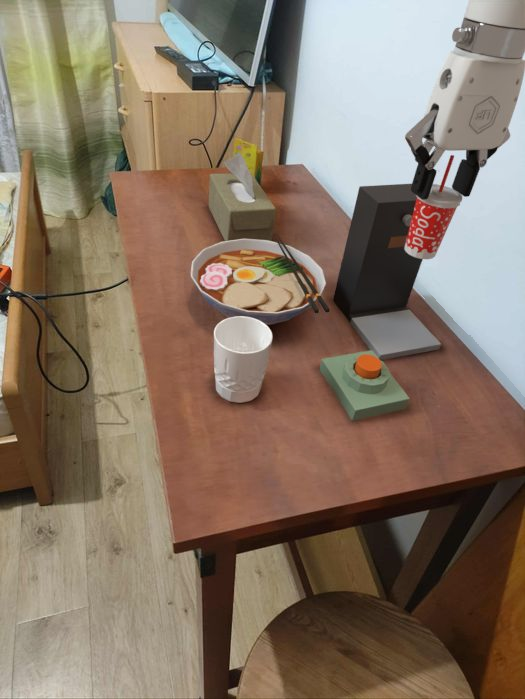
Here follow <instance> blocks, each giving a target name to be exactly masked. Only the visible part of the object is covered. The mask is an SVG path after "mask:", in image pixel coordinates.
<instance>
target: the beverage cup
mask: <svg viewBox="0 0 525 699" xmlns="http://www.w3.org/2000/svg"><path fill="white" fill-rule="evenodd" d="M454 158H455V155H453V154H451V155H450V156H449V159H448V162H447V165H446V167H445V171H444V174H443V177H442V179H441V183H440V184H438V183H433V185H432V188H431V191H430V194H429V197H428V198H427V199H426V200H422V199H421V198H419V197H418V196H417V195H416V196H417V200H416V204H415V208H414V212H413V216H412V220H411V224H410V228H409V232H408V236H407V240H406V244H405V248H404V249H405V251H406V252H407V253H408V254H409V255H411V256H413V257H416V258H420V259H423V260H431V259H433V258H435V257H436V255H437V253H438V251H439V249H440V246H441V244H442V241H443V240H444V237H445V235H446V233H447V230H448V228H449V226H450V224H451V222H452V220H453V217H454V215H455V213H456V210H457V208H458V207H459V206H460V205H461V203H462V202H463V195H461V194H460V193H459V192H457V191H456V190H454V189H453V188H452V187H449V186H446V185H445V184H446V182H447V179H448V176H449V173H450V170H451V167H452V164H453V163H454V162H453V161H454Z"/></svg>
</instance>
